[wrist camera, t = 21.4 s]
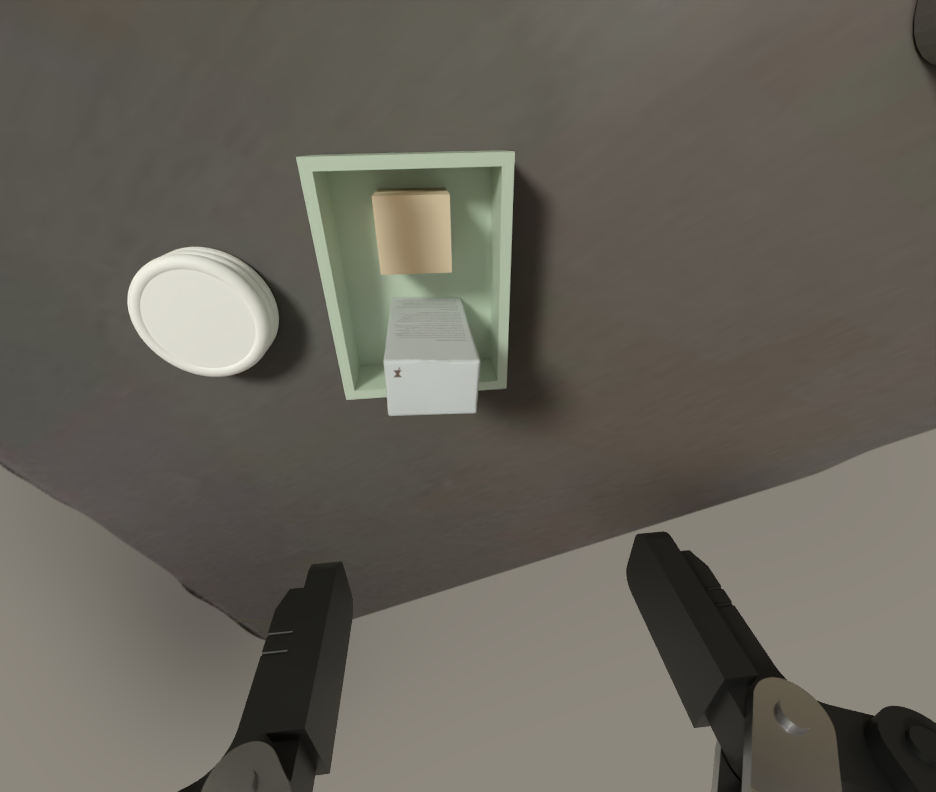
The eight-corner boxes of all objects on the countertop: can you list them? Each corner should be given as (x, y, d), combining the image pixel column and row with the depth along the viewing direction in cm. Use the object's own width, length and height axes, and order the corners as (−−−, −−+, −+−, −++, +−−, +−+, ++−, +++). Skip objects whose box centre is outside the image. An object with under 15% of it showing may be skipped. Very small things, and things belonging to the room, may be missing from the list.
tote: (501, 150, 31) (514, 151, 26) (497, 362, 40) (506, 388, 36) (313, 154, 29) (296, 157, 25) (354, 371, 39) (346, 399, 34)
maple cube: (445, 187, 31) (449, 194, 27) (447, 256, 34) (451, 272, 29) (377, 188, 30) (371, 196, 26) (385, 257, 33) (380, 274, 29)
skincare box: (393, 342, 37) (385, 417, 27) (391, 295, 35) (380, 358, 25) (461, 342, 38) (477, 415, 27) (463, 296, 35) (481, 358, 25)
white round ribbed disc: (209, 218, 31) (187, 226, 28) (305, 321, 36) (295, 337, 33) (121, 291, 33) (92, 306, 30) (223, 379, 38) (207, 399, 35)
